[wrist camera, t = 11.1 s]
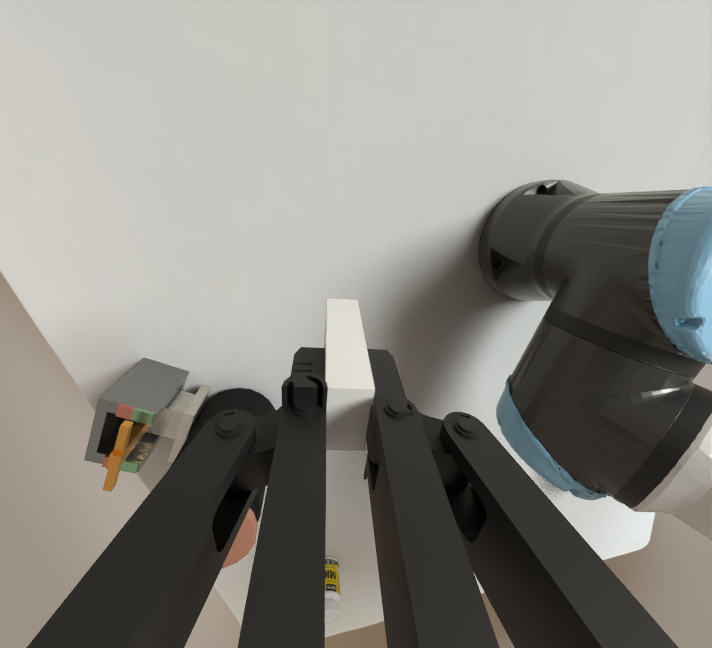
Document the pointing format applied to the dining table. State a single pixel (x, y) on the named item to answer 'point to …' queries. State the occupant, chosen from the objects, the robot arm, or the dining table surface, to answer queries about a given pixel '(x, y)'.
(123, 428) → the plunger
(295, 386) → the robot arm
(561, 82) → the dining table surface
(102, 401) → the gauge housing
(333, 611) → the supplement bottle
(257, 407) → the coffee jar
